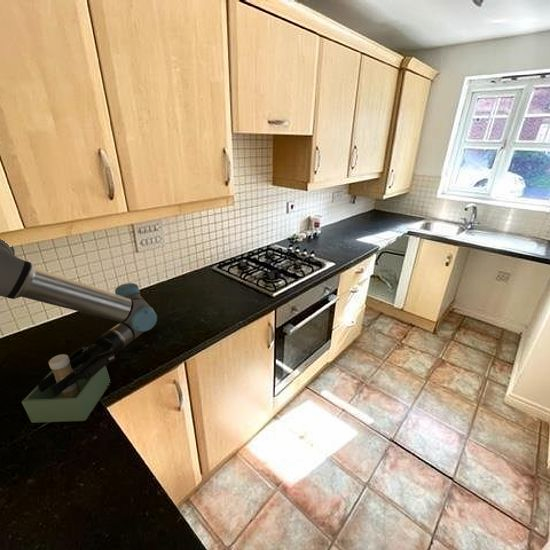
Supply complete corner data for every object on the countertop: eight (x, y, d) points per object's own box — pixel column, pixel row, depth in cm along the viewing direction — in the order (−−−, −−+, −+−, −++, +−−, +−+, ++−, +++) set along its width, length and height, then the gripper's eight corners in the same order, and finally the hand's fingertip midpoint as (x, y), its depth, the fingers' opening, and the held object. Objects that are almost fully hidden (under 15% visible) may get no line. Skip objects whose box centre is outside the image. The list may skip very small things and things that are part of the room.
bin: (31, 422, 82) (21, 401, 79) (64, 383, 95) (57, 364, 92) (85, 420, 82) (77, 399, 79) (111, 382, 95) (105, 362, 92)
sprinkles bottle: (61, 395, 88) (46, 358, 82) (79, 387, 91) (66, 351, 85) (65, 404, 85) (49, 366, 79) (83, 395, 88) (69, 358, 82)
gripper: (137, 354, 99) (74, 408, 79) (97, 345, 105) (28, 393, 84) (133, 335, 96) (66, 386, 76) (91, 326, 102) (18, 372, 81)
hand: (46, 390), depth 80 cm, fingers closed on sprinkles bottle, 4 cm apart
